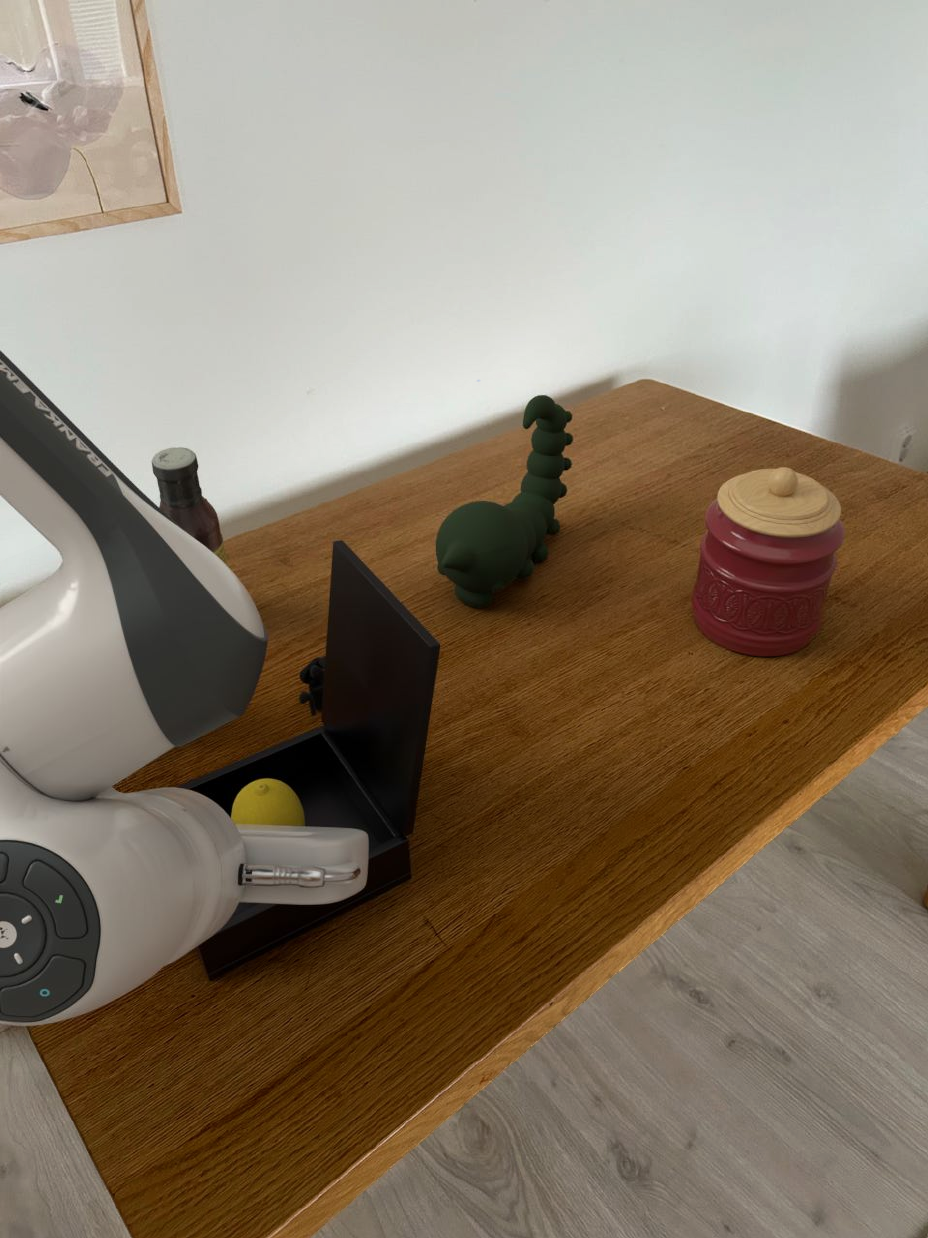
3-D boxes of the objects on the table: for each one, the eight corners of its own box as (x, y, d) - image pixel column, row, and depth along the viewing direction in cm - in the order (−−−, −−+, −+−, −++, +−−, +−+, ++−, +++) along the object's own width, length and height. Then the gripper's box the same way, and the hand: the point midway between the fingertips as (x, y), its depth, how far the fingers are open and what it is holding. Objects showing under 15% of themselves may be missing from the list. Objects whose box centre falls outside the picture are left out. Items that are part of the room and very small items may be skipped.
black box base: (209, 982, 70) (197, 943, 67) (146, 843, 80) (133, 804, 77) (412, 878, 77) (408, 839, 74) (331, 762, 86) (325, 723, 83)
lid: (430, 646, 64) (441, 644, 64) (332, 541, 73) (342, 539, 74) (404, 837, 73) (413, 834, 74) (320, 721, 83) (329, 718, 83)
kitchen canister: (719, 668, 95) (750, 515, 84) (670, 590, 105) (692, 444, 94) (842, 649, 97) (887, 497, 86) (783, 574, 107) (816, 429, 96)
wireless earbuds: (309, 728, 90) (303, 687, 87) (287, 718, 91) (280, 678, 88) (354, 683, 95) (349, 643, 91) (333, 674, 96) (327, 634, 92)
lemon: (256, 895, 75) (239, 826, 70) (229, 845, 78) (212, 777, 74) (322, 863, 77) (310, 795, 72) (293, 816, 81) (280, 748, 76)
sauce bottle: (165, 622, 102) (121, 454, 90) (217, 597, 106) (181, 431, 93) (198, 652, 99) (156, 480, 86) (251, 625, 102) (218, 456, 89)
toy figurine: (513, 523, 119) (402, 621, 101) (523, 372, 108) (401, 451, 90) (584, 544, 115) (482, 649, 97) (601, 390, 105) (491, 476, 87)
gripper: (353, 819, 52) (387, 800, 66) (-21, 806, 53) (89, 790, 67) (348, 942, 51) (384, 897, 65) (-32, 925, 52) (82, 885, 66)
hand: (232, 843), depth 66 cm, fingers open, 8 cm apart
